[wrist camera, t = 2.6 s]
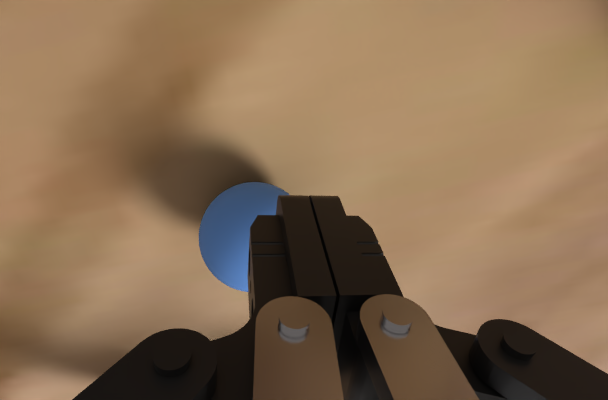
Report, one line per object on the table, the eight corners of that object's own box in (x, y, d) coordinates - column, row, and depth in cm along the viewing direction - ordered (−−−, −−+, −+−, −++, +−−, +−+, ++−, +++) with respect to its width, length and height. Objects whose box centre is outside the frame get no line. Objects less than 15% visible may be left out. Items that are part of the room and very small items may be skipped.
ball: (203, 159, 25) (195, 222, 20) (308, 165, 26) (326, 227, 21) (201, 243, 28) (194, 316, 23) (295, 246, 29) (307, 316, 24)
